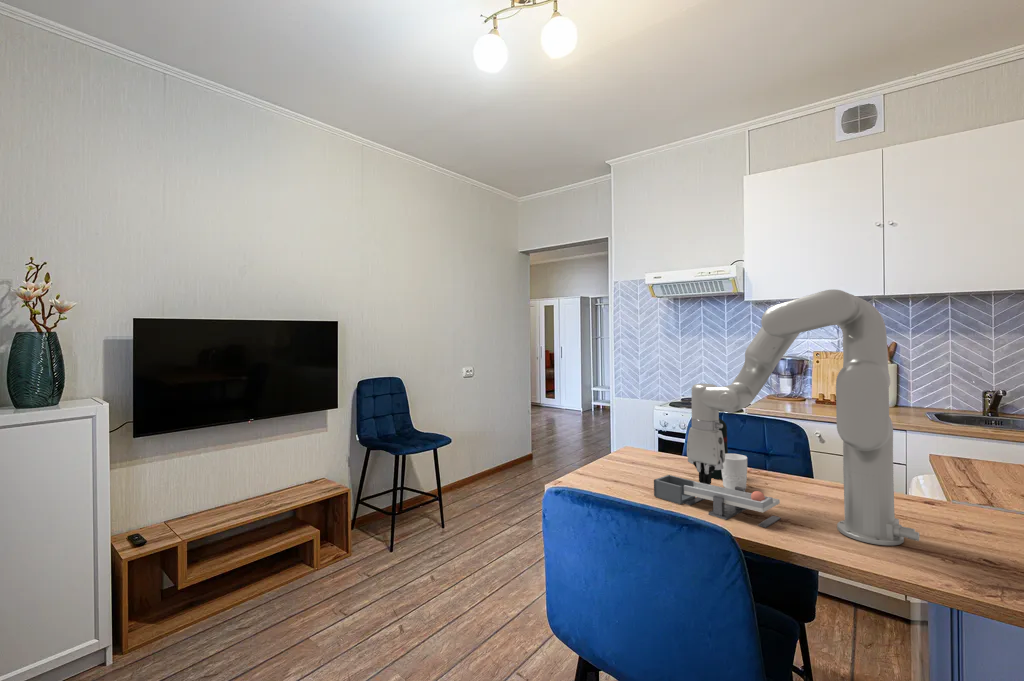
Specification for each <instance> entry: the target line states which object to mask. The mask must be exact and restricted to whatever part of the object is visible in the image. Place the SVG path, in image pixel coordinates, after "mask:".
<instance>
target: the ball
mask: <svg viewBox="0 0 1024 681" xmlns="http://www.w3.org/2000/svg"><path fill="white" fill-rule="evenodd" d="M751 493H752V494H751V499H752V500H755V501H760V502H761V501H763V500H764V499H765V497H764V496H765V495H764V493H763V492H761V491H760V490H755V491H753V492H751Z"/></svg>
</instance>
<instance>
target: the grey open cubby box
mask: <svg viewBox="0 0 1024 681" xmlns="http://www.w3.org/2000/svg"><path fill="white" fill-rule="evenodd" d="M693 482H696V481H695V480H691V479H688V478H684V477H683V478H682V477H679V476H676V475H671V474H667V475H664V476H661V477H657V478H656V479H653V497H654V496H656V497H655V498H657V497H658V498H657V499H660V498H662V499H661V500H664V501H667V500H668V502H670V501H671V502H670V503H673V502H674V503H673V504H678V505H681V506H682V505H684V502H687V501H689V500H691V499H694V498H696V497H695V496H691V495H686V494H684V485H687V486H691V487H694V486H693Z"/></svg>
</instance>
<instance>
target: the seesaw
mask: <svg viewBox="0 0 1024 681" xmlns="http://www.w3.org/2000/svg"><path fill="white" fill-rule="evenodd" d="M693 486H694V487H691V486H687V485H684V494H686V495H691V496H695V498H696V497H699V498H703V499H704V500H709V501H712V502H713V496H718V497H722V498H724V505H725V504H729V505H733V506H737V507H741V508H746V509H747V510H751V511H755V512H759V513H765V512H767V511H768V510H770V509H772V508H774V507H775V506H777V505H779V504H780V503H781V502H780V499H779V498H776V497H775V498H773V497H771V496H767V495H764V497H765V499H764V500H763V501H761V502H760V501H755V500H752V499H751V494H752V493H753V492H748V491H745V492H743V491H738V490H733V489H729V488H725V487H724V486H718V485H713V484H710V485H709V484H704V483H700V482H699V481H695V482H693Z"/></svg>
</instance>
